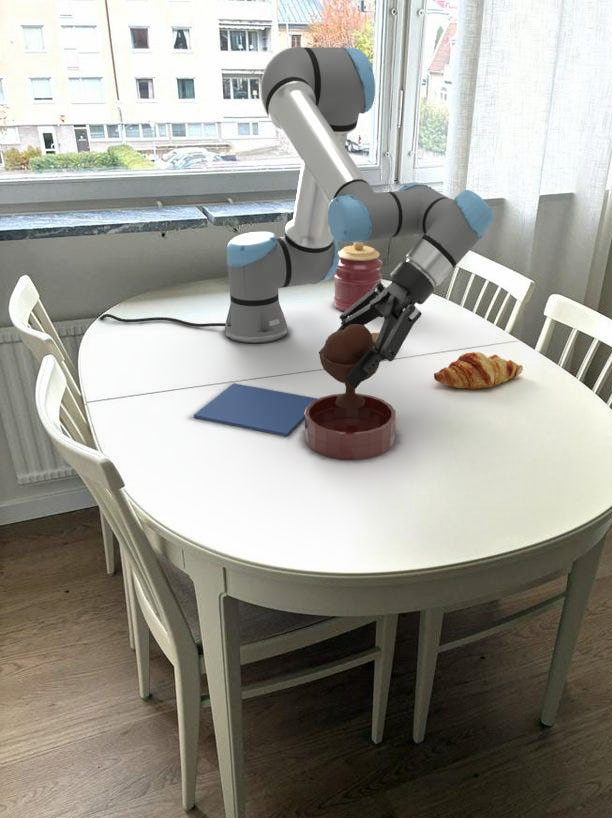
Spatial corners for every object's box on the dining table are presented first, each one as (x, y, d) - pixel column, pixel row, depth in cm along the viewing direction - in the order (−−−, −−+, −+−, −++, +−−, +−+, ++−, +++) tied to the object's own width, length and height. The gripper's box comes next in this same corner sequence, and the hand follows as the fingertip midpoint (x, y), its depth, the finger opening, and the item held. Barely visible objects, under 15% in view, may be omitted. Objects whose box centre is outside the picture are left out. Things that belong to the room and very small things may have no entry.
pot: (290, 449, 132) (289, 424, 129) (326, 411, 145) (325, 387, 142) (377, 467, 127) (378, 441, 124) (405, 426, 140) (407, 401, 137)
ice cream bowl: (381, 390, 136) (384, 313, 128) (376, 418, 127) (379, 336, 119) (325, 387, 137) (325, 310, 129) (316, 414, 128) (315, 333, 120)
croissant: (511, 384, 165) (508, 349, 165) (536, 381, 156) (532, 343, 155) (427, 395, 159) (423, 358, 158) (447, 392, 149) (443, 353, 148)
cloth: (193, 417, 141) (193, 414, 141) (233, 385, 154) (233, 383, 154) (287, 436, 136) (287, 433, 135) (320, 401, 149) (320, 399, 148)
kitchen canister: (339, 296, 206) (339, 232, 197) (384, 300, 204) (387, 236, 195) (328, 311, 195) (328, 244, 186) (376, 315, 193) (378, 248, 184)
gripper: (467, 308, 118) (377, 409, 121) (402, 268, 136) (325, 357, 139) (441, 279, 113) (349, 385, 116) (377, 242, 131) (298, 335, 134)
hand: (336, 370), depth 128 cm, fingers closed on ice cream bowl, 11 cm apart
